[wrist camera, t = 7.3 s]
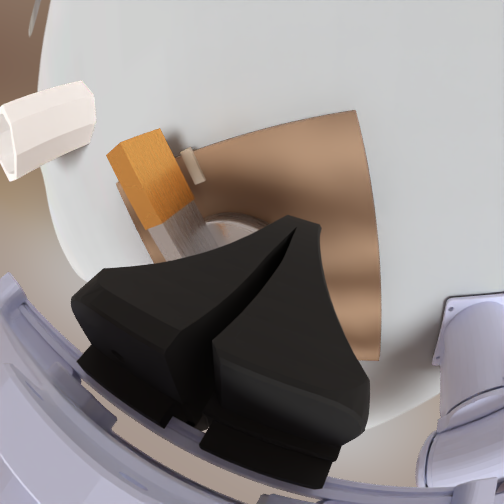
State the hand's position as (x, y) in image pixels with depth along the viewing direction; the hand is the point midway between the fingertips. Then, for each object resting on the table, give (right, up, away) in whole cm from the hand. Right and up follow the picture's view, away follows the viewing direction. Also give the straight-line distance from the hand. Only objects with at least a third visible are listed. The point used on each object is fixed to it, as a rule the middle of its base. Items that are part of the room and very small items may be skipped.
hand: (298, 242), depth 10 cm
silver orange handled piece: (-4, +1, +12) cm, 12 cm away
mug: (-23, +16, +13) cm, 31 cm away
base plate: (-2, -1, +14) cm, 15 cm away
